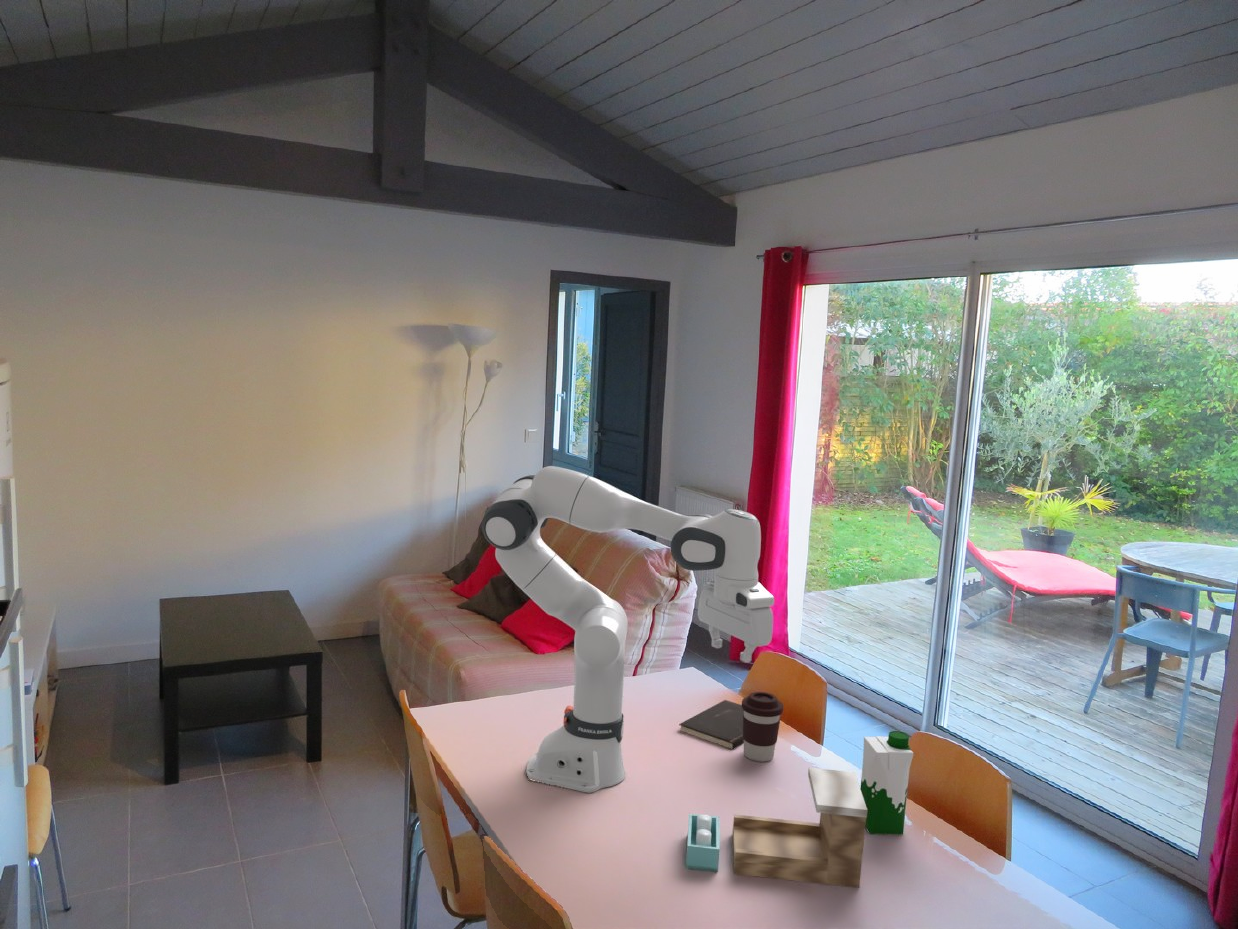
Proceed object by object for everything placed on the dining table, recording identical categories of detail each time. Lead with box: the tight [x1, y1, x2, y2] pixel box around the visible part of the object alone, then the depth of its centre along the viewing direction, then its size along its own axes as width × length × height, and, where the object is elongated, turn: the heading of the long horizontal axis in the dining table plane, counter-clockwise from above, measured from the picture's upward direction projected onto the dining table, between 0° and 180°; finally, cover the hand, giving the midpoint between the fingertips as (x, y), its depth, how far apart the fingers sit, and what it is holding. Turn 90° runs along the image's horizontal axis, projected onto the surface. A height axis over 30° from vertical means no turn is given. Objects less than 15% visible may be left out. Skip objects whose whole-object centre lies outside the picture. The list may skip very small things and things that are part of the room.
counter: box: [732, 767, 867, 889], centre depth 172 cm, size 23×15×16 cm, turn 84°
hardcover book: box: [679, 699, 744, 750], centre depth 234 cm, size 16×23×2 cm
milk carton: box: [860, 730, 914, 835], centre depth 187 cm, size 9×9×20 cm
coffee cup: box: [741, 691, 784, 763], centre depth 217 cm, size 10×10×15 cm
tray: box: [685, 813, 720, 873], centre depth 174 cm, size 12×6×6 cm, turn 174°
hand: (730, 654), depth 185 cm, fingers open, 8 cm apart
